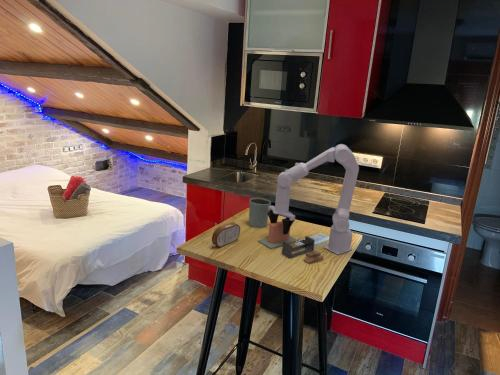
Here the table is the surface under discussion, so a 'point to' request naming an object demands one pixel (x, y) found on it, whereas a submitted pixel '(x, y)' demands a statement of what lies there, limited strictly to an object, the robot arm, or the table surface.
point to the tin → (226, 234)
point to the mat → (277, 244)
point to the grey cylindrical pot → (258, 212)
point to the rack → (288, 248)
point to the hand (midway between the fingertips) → (279, 230)
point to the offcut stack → (313, 257)
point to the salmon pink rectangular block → (277, 233)
